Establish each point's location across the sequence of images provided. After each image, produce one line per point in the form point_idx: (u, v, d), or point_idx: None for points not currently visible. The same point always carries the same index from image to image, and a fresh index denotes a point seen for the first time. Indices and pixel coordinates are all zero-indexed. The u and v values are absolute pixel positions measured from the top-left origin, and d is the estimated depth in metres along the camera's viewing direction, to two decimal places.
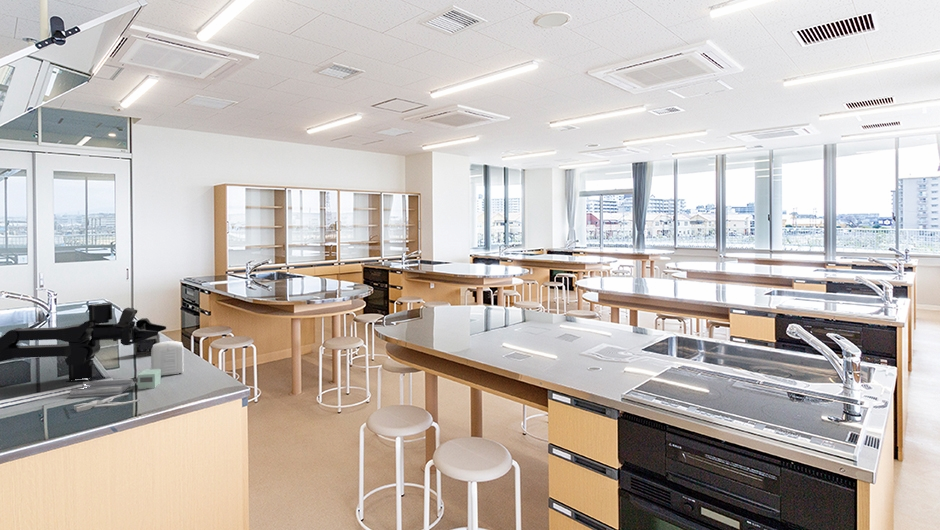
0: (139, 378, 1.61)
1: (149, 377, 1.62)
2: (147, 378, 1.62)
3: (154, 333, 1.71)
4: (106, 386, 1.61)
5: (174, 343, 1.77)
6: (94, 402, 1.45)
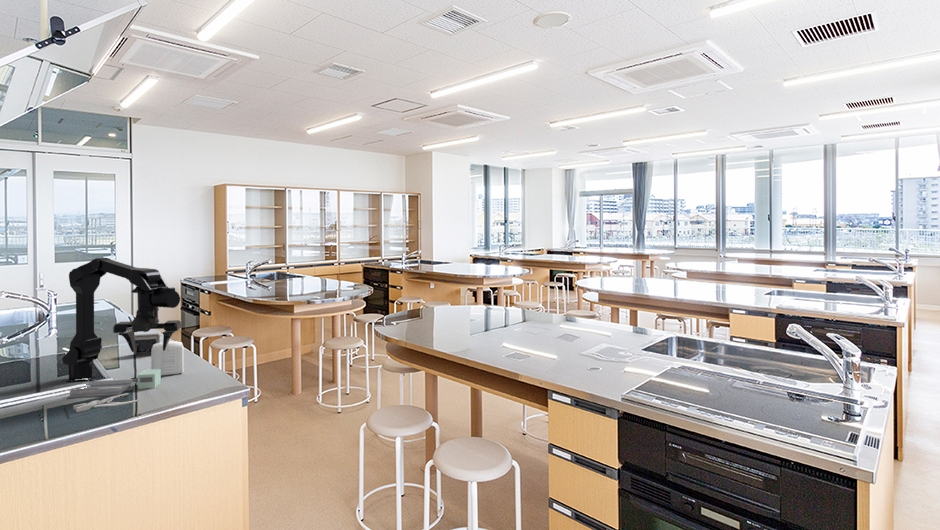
0: (139, 378, 1.61)
1: (149, 377, 1.62)
2: (147, 378, 1.62)
3: None
4: (106, 386, 1.61)
5: (174, 343, 1.77)
6: (94, 402, 1.45)
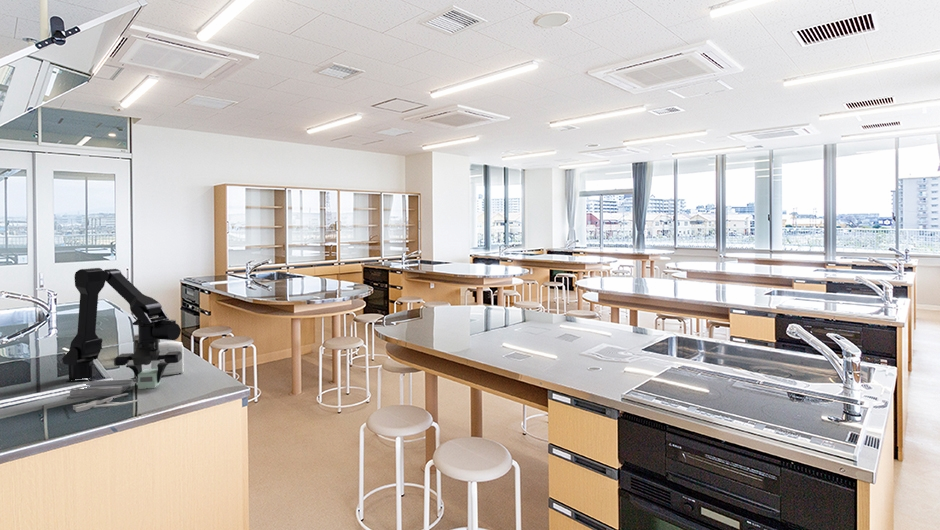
0: (139, 378, 1.61)
1: (149, 376, 1.62)
2: (147, 378, 1.62)
3: None
4: (106, 386, 1.61)
5: (174, 343, 1.77)
6: (93, 402, 1.45)
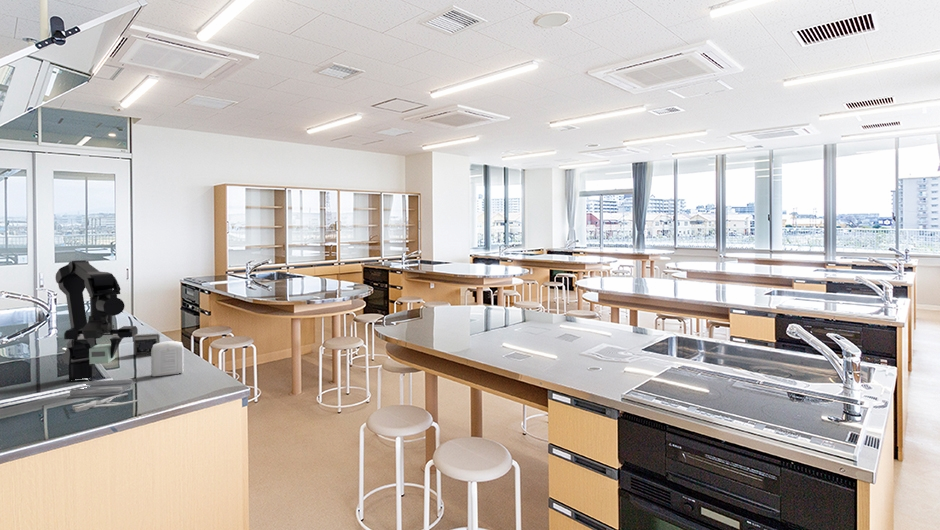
0: (91, 352, 1.55)
1: (101, 351, 1.56)
2: (99, 352, 1.55)
3: None
4: (106, 386, 1.61)
5: (174, 343, 1.77)
6: (93, 402, 1.45)
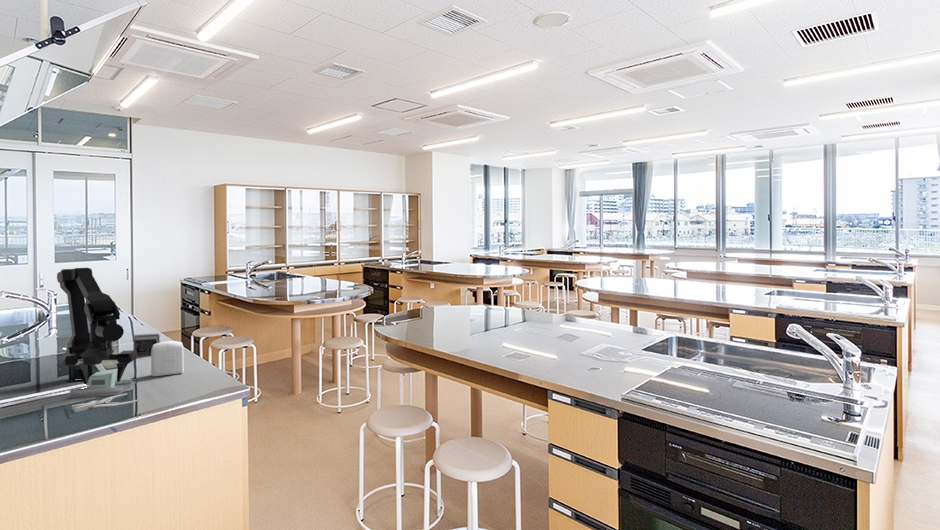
0: (90, 381, 1.55)
1: (101, 379, 1.56)
2: (99, 380, 1.56)
3: None
4: None
5: (174, 343, 1.77)
6: (92, 402, 1.45)
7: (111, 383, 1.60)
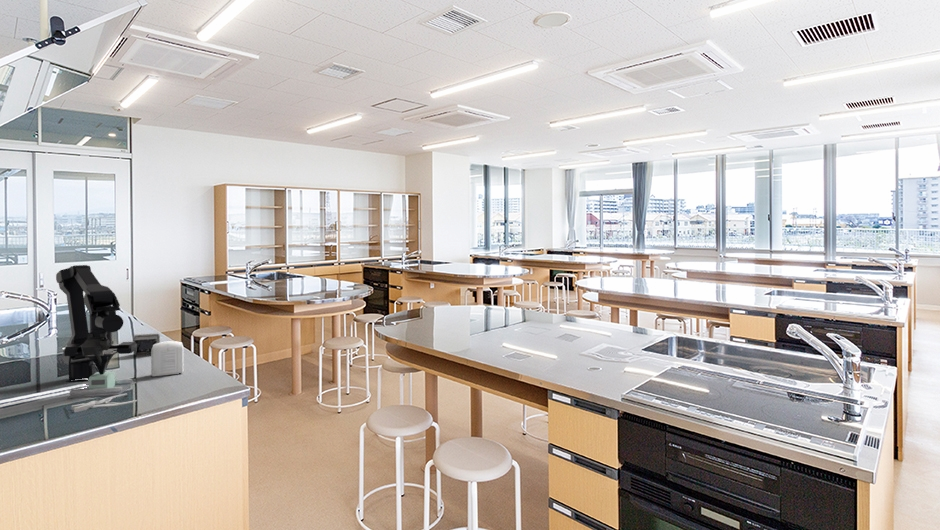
0: (90, 381, 1.55)
1: (101, 379, 1.56)
2: (99, 381, 1.56)
3: None
4: None
5: (174, 343, 1.77)
6: (92, 402, 1.45)
7: (111, 383, 1.60)
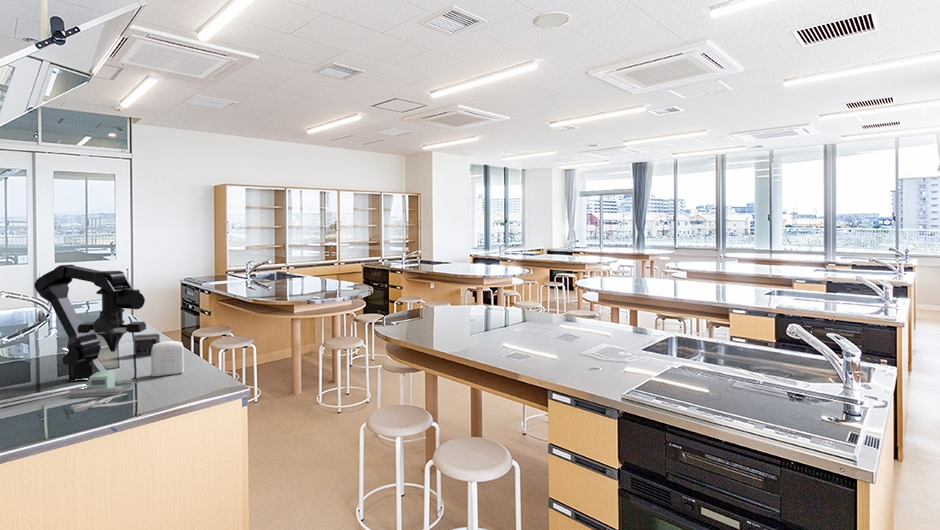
0: (90, 381, 1.55)
1: (101, 379, 1.56)
2: (99, 380, 1.56)
3: None
4: None
5: (174, 343, 1.77)
6: (92, 403, 1.45)
7: (111, 383, 1.60)
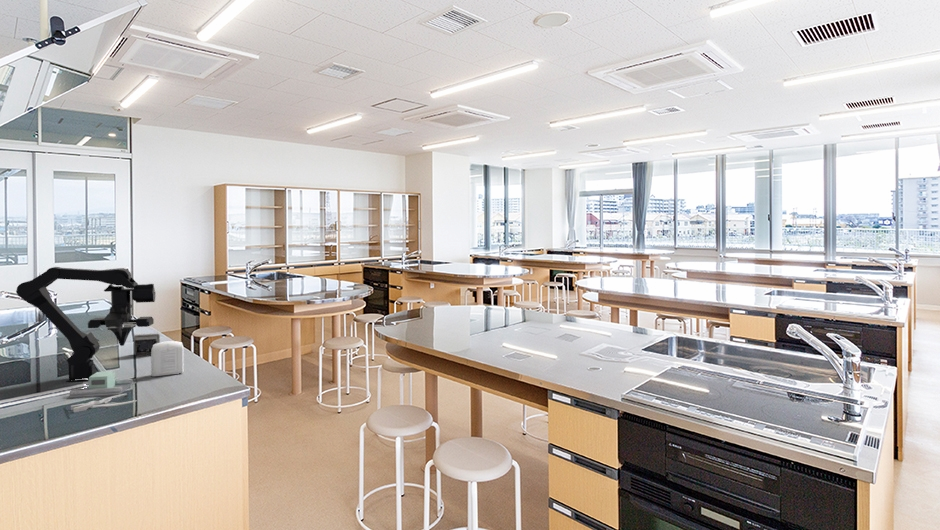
0: (90, 381, 1.55)
1: (101, 379, 1.56)
2: (99, 380, 1.56)
3: None
4: None
5: (174, 343, 1.77)
6: (91, 403, 1.45)
7: (111, 383, 1.60)
